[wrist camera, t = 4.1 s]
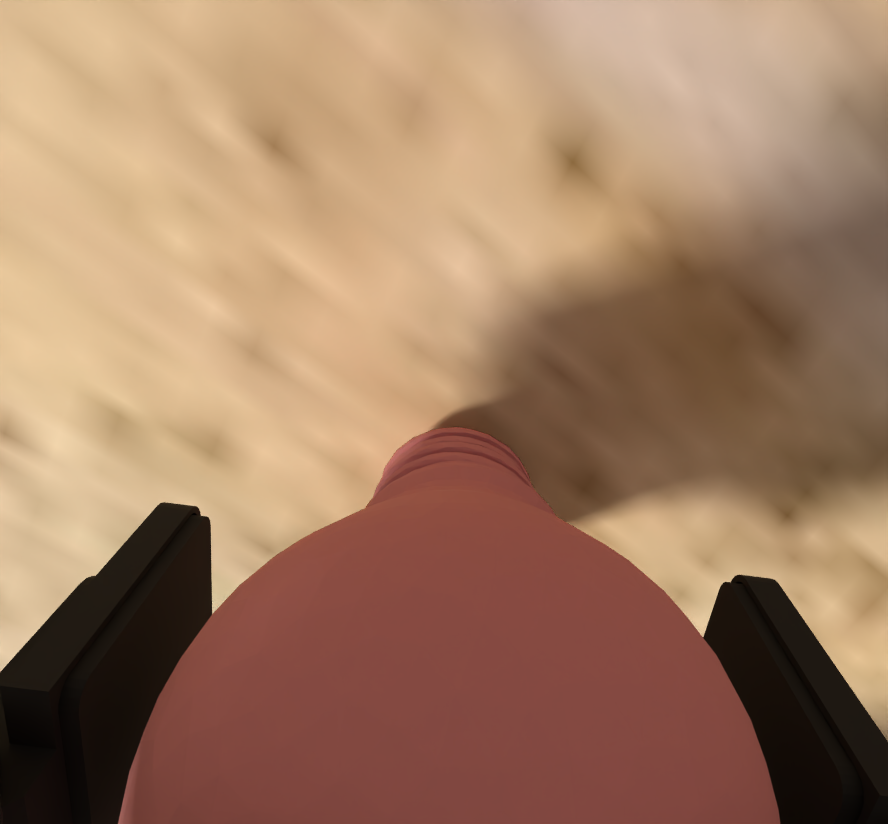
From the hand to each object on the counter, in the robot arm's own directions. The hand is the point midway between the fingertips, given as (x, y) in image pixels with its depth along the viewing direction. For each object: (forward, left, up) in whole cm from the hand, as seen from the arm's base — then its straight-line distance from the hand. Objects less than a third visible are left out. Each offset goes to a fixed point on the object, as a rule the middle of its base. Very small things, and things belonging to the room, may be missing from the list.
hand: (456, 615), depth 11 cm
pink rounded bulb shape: (0, 0, -5) cm, 5 cm away
